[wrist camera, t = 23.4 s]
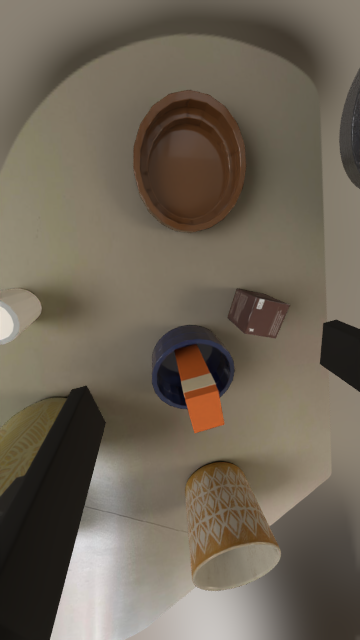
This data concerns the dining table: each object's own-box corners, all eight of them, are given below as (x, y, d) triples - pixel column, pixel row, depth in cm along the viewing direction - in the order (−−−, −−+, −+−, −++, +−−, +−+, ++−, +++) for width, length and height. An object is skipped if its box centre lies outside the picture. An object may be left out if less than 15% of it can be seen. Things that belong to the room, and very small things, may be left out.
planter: (235, 446, 51) (271, 531, 36) (252, 483, 59) (288, 567, 43) (169, 474, 51) (177, 571, 36) (194, 507, 59) (210, 599, 44)
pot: (217, 316, 37) (229, 329, 31) (226, 377, 42) (238, 396, 37) (142, 336, 36) (141, 352, 30) (162, 395, 41) (164, 418, 36)
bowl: (229, 100, 25) (240, 79, 22) (239, 221, 31) (250, 218, 28) (120, 122, 25) (116, 103, 21) (151, 242, 30) (151, 241, 27)
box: (253, 323, 38) (276, 339, 31) (226, 317, 37) (243, 334, 30) (265, 293, 36) (291, 304, 29) (236, 287, 35) (257, 297, 28)
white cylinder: (-5, 280, 29) (-50, 290, 23) (45, 288, 30) (17, 299, 24) (0, 322, 31) (-39, 342, 25) (46, 327, 33) (21, 347, 26)
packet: (196, 343, 37) (218, 390, 25) (202, 370, 40) (225, 424, 28) (173, 349, 37) (184, 399, 25) (180, 376, 39) (194, 433, 27)
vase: (36, 458, 43) (-123, 753, 18) (-3, 399, 36) (-337, 737, 11) (114, 440, 44) (66, 692, 19) (90, 380, 38) (-29, 645, 13)
